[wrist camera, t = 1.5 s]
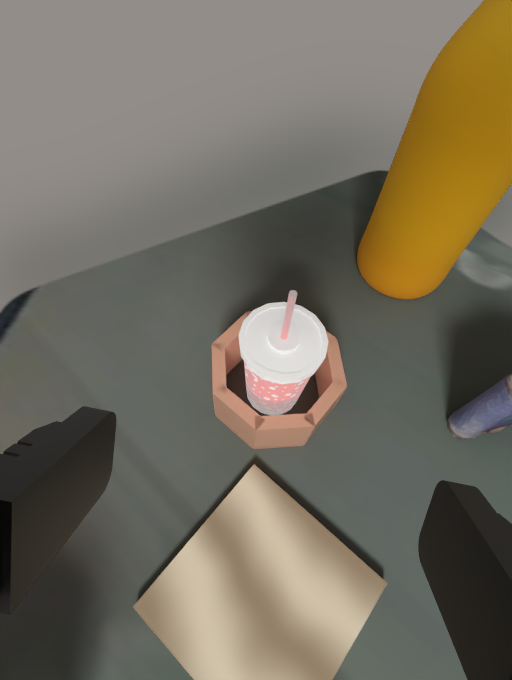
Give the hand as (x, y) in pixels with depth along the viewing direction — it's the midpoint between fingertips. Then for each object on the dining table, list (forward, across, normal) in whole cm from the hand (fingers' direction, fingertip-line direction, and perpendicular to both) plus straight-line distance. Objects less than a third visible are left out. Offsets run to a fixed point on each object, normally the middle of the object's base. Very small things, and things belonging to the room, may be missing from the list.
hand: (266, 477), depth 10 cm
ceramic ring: (+24, 0, +7) cm, 25 cm away
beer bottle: (+36, -11, -5) cm, 38 cm away
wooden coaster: (+13, -2, +17) cm, 22 cm away
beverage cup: (+24, 0, +7) cm, 25 cm away
